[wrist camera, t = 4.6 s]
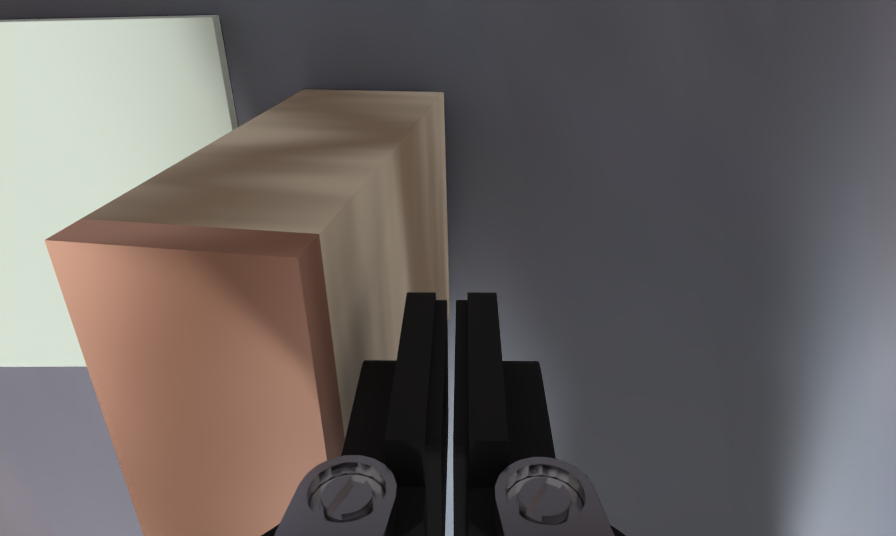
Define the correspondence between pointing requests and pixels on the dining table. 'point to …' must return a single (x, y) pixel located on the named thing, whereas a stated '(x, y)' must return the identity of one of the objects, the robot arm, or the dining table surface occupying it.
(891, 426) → the dining table surface
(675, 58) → the dining table surface
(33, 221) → the pale green square plate
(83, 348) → the maple block
